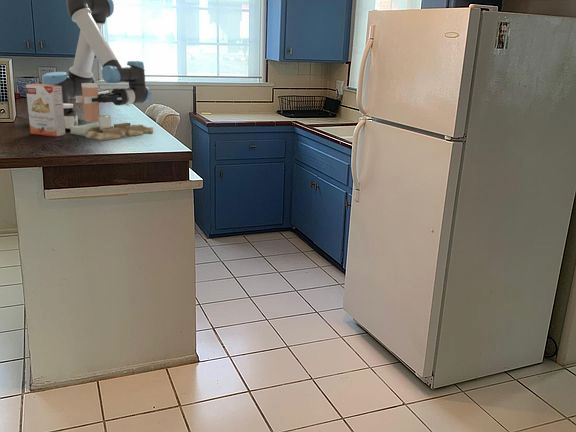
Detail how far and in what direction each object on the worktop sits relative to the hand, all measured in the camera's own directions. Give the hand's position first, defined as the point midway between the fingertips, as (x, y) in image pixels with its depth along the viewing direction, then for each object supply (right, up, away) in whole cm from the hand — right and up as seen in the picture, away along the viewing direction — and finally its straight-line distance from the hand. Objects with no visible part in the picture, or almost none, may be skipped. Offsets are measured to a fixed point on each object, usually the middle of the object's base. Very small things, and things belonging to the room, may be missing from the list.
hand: (80, 99), depth 240 cm
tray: (+2, -13, +9) cm, 16 cm away
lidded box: (+2, -8, +7) cm, 11 cm away
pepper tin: (+11, -16, +1) cm, 19 cm away
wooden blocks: (+15, -14, +7) cm, 22 cm away
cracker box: (-15, -15, +2) cm, 21 cm away
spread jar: (-13, -11, +15) cm, 23 cm away
